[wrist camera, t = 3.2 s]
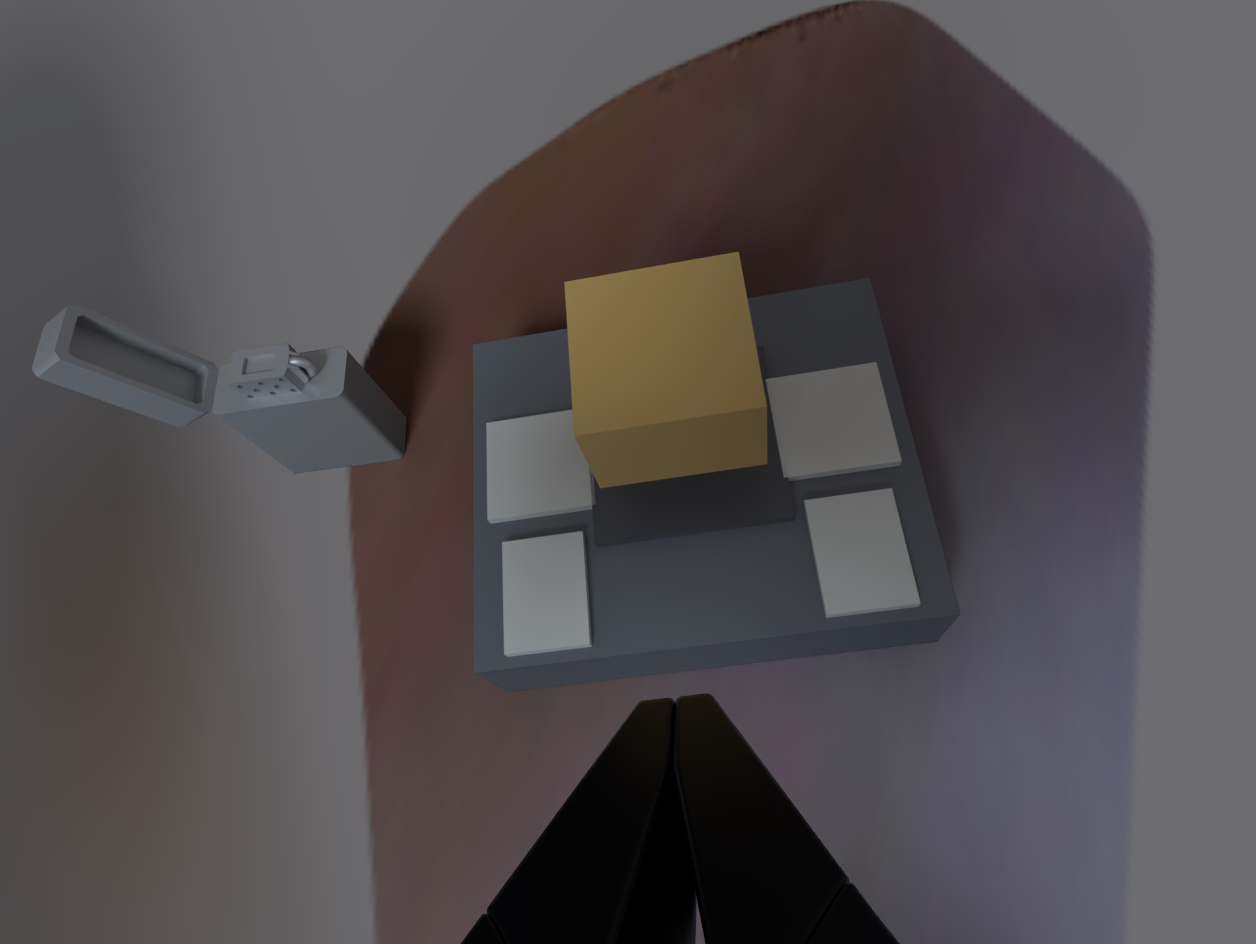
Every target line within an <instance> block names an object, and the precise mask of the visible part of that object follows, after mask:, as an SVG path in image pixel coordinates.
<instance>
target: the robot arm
mask: <svg viewBox="0 0 1256 944" xmlns="http://www.w3.org/2000/svg"><path fill="white" fill-rule="evenodd" d="M696 897H697V902H698V907H699V913H700V918H701V923H702V928H703V933H704V939H705V944H900V943H899V942H898V941H897V940H896V938H895V937H894V936H893V935H892V933H891V932H890V931H889V930H888V928H887V927H886V926H885V925H884V923H883V922H882V921H881V920H880V919H879V917H878V916H877V915H876V914H875V912H874V911H873V910H872V908H871V907H870V906H869V904H868V903H867V902H866V900H865V899H864V898H863V896H862V895H861V893H860V892H859V891H858V889H857V888H856V887H855V886H854V885H853V884H852V883H850V881H849V878H848V877H847V875H846V874H845V873H844V871H843V870H842V869H841V867H840V866H839V865H838V863H837V862H836V861H835V859H834V858H833V857H832V855H831V854H830V853H829V851H828V850H827V848H826V847H825V846H824V844H823V843H822V842H821V840H820V839H819V838H818V836H817V835H816V834H815V832H814V831H813V830H812V828H811V827H810V826H809V824H808V823H807V822H806V820H805V819H804V818H803V816H802V815H801V814H800V812H799V811H798V810H797V808H796V807H795V806H794V804H793V803H792V802H791V800H790V799H789V798H788V796H787V795H786V793H785V792H784V791H783V789H782V788H781V787H780V785H779V784H778V783H777V781H776V780H775V779H774V777H773V776H772V775H771V773H770V772H769V771H768V769H767V768H766V767H765V765H764V764H763V763H762V761H761V760H760V759H759V757H758V756H757V755H756V753H755V752H754V751H753V749H752V748H751V747H750V745H749V744H748V743H747V741H746V740H745V738H744V737H743V736H742V734H741V733H740V732H739V730H738V729H737V728H736V726H735V725H734V724H733V722H732V721H731V720H730V718H729V717H728V716H727V714H726V713H725V712H724V710H723V709H722V708H721V706H720V705H719V704H718V702H717V701H716V700H715V698H714V697H713V696H712V695H710V694H698V695H689V696H681V697H679V698H678V699H677V700H676V703H675V701H674V700H673V699H671V698H663V699H654V700H645V701H641V702H639V703H638V704H637V705H636V706H635V708H634V709H633V710H632V712H631V713H630V714H629V716H628V717H627V719H626V720H625V721H624V723H623V724H622V725H621V727H620V728H619V729H618V731H617V732H616V734H615V735H614V736H613V738H612V739H611V740H610V742H609V743H608V744H607V746H606V747H605V749H604V750H603V751H602V753H601V754H600V755H599V757H598V758H597V759H596V761H595V762H594V763H593V765H592V766H591V768H590V769H589V770H588V772H587V773H586V774H585V776H584V777H583V778H582V780H581V781H580V783H579V784H578V785H577V787H576V788H575V789H574V791H573V792H572V793H571V795H570V796H569V797H568V799H567V800H566V802H565V803H564V804H563V806H562V807H561V808H560V810H559V811H558V812H557V814H556V815H555V817H554V818H553V819H552V821H551V822H550V823H549V825H548V826H547V827H546V829H545V830H544V832H543V833H542V834H541V836H540V837H539V838H538V840H537V841H536V842H535V844H534V845H533V846H532V848H531V849H530V851H529V852H528V853H527V855H526V856H525V857H524V859H523V860H522V861H521V863H520V864H519V866H518V867H517V868H516V870H515V871H514V872H513V874H512V875H511V876H510V878H509V879H508V880H507V882H506V883H505V885H504V886H503V887H502V889H501V890H500V891H499V893H498V894H497V895H496V897H495V898H494V900H493V901H492V902H491V904H490V905H489V906H488V908H487V914H483V915H481V917H480V918H479V919H478V921H477V922H476V924H475V925H474V926H473V928H472V929H471V930H470V932H469V933H468V934H467V936H466V937H465V938H464V940H463V941H462V943H461V944H695V937H696V904H697V903H696Z"/></svg>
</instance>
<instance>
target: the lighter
mask: <svg viewBox="0 0 1256 944" xmlns="http://www.w3.org/2000/svg"><path fill="white" fill-rule="evenodd" d="M32 370H33V372H34V373H35V375H36V376H37V377H38V378H41V379H44V380H46V381H49V382H52V383H55V384H58V385H61V386H64V387H66V388H70V389H72V390H75V391H78V392H81V393H83V394H86V395H89V396H92V397H95V398H98V399H101V400H104V401H106V402H109V403H112V404H115V405H118V406H120V407H123V408H126V409H129V410H132V411H135V412H137V413H140V414H143V415H146V416H149V417H152V418H155V419H158V420H160V421H163V422H166V423H169V424H172V425H174V426H177V427H180V428H181V427H184V426H186V425H188V424H190V423H191V422H193V421H195V420H196V419H198V418H200V417H201V416H203V415H205V414H207V413H208V412H210V411H213V413H214V414H215V415H217V416H218V417H219V418H221V419H222V420H223V421H225V422H226V423H227V424H229V425H230V426H231V427H233V428H234V429H235V430H237V431H238V432H239V433H241V434H242V435H243V436H245V437H246V438H247V439H249V440H250V441H252V442H253V443H254V444H255V445H257V446H258V447H259V448H261V449H262V450H263V451H265V452H266V453H267V454H269V455H270V456H272V457H273V458H274V459H275V460H277V461H278V462H279V463H281V464H282V465H283V466H285V467H286V468H287V469H289V470H290V471H292V472H293V473H294V474H296V473H304V472H311V471H318V470H326V469H333V468H340V467H347V466H355V465H362V464H369V463H377V462H384V461H391V460H399V459H400V458H401V457H402V456H403V455H404V454H405V441H406V423H407V418H406V417H405V415H404V414H403V413H402V412H401V411H400V410H399V409H398V408H397V406H396V405H395V404H394V403H393V402H392V401H391V400H390V398H389V397H388V396H387V395H386V394H385V393H384V392H383V391H382V389H381V388H380V387H379V386H378V385H377V384H376V383H375V381H374V380H373V379H372V378H371V377H370V376H369V375H368V374H367V372H366V371H365V370H364V369H363V368H362V367H361V366H360V364H359V363H358V362H357V361H356V360H355V359H354V358H353V356H352V355H351V354H350V353H349V352H348V351H347V350H346V349H345V348H343V347H335V348H329V349H323V350H316V351H310V352H304V353H297V352H296V351H295V350H294V349H293V348H292V347H291V346H290V345H289V344H281V345H275V346H269V347H262V348H257V349H250V350H244V351H237V352H235V353H233V355H232V358H231V363H230V364H227V365H224V366H223V367H222V368H221V369H219V370H218V368H217V367H216V365H215V364H214V363H213V362H210V361H208V360H206V359H203V358H201V357H199V356H196V355H194V354H191V353H189V352H187V351H185V350H182V349H180V348H177V347H175V346H173V345H170V344H168V343H166V342H163V341H161V340H159V339H156V338H154V337H152V336H149V335H147V334H144V333H142V332H140V331H137V330H135V329H133V328H131V327H128V326H126V325H123V324H121V323H119V322H117V321H114V320H112V319H110V318H107V317H105V316H103V315H100V314H98V313H95V312H93V311H91V310H88V309H86V308H84V307H81V306H79V305H77V304H74V305H70V306H67V307H66V308H64V309H63V310H62V311H61V312H60V313H59V314H58V315H56V316H55V317H54V318H53V319H52V320H50V321H49V322H48V323H47V324H46V325H45V326H44V329H43V332H42V336H41V339H40V342H39V346H38V349H37V353H36V356H35V359H34V363H33V366H32Z"/></svg>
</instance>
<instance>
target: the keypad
mask: <svg viewBox="0 0 1256 944" xmlns="http://www.w3.org/2000/svg"><path fill="white" fill-rule="evenodd" d="M747 300H748V305H749V311H750V316H751V321H752V327H753V332H754V338H755V343H756V349H757V354H758V360H759V365H760V371H761V376H762V382H763V387H764V392H765V398H766V403H767V464H765V465H758V466H751V467H744V468H737V469H730V470H723V471H716V472H710V473H703V474H696V475H689V476H682V477H675V478H668V479H661V480H654V481H647V482H640V483H634V484H627V485H620V486H613V487H606V488H600V487H599V485H598V483H597V481H596V479H595V477H594V475H593V473H592V471H591V469H590V467H589V465H588V463H587V461H586V459H585V457H584V455H583V453H582V451H581V449H580V447H579V445H578V443H577V441H576V439H575V437H574V426H573V410H572V394H571V378H570V362H569V346H568V330H567V329H562V330H556V331H550V332H544V333H538V334H532V335H526V336H520V337H514V338H509V339H503V340H497V341H491V342H485V343H479V344H473V620H474V673H475V674H477V675H478V676H480V677H482V678H484V679H486V680H488V681H490V682H492V683H494V684H495V685H497V686H499V687H501V688H503V689H505V690H507V691H517V690H526V689H534V688H543V687H551V686H560V685H568V684H577V683H586V682H594V681H603V680H611V679H620V678H628V677H637V676H645V675H654V674H662V673H671V672H679V671H688V670H697V669H705V668H714V667H722V666H731V665H739V664H748V663H756V662H765V661H773V660H782V659H790V658H799V657H808V656H816V655H825V654H833V653H842V652H850V651H859V650H867V649H876V648H884V647H893V646H902V645H910V644H919V643H927V642H936V641H937V640H938V639H939V638H940V637H941V636H942V634H943V633H944V632H945V631H946V630H947V629H948V628H949V627H950V625H951V624H952V623H953V622H954V621H955V620H956V619H957V618H958V616H959V615H960V611H959V607H958V604H957V600H956V596H955V592H954V589H953V585H952V581H951V578H950V574H949V570H948V566H947V563H946V559H945V555H944V551H943V548H942V544H941V540H940V536H939V533H938V529H937V525H936V522H935V518H934V514H933V510H932V507H931V503H930V499H929V495H928V492H927V488H926V484H925V480H924V477H923V473H922V469H921V466H920V462H919V458H918V454H917V451H916V447H915V443H914V439H913V436H912V432H911V428H910V424H909V421H908V417H907V413H906V410H905V406H904V402H903V398H902V395H901V391H900V387H899V383H898V380H897V376H896V372H895V368H894V365H893V361H892V357H891V354H890V350H889V346H888V342H887V339H886V335H885V331H884V327H883V324H882V320H881V316H880V312H879V309H878V305H877V301H876V298H875V294H874V290H873V286H872V283H871V279H870V278H865V279H859V280H853V281H847V282H841V283H835V284H829V285H823V286H818V287H812V288H806V289H800V290H794V291H788V292H782V293H776V294H770V295H764V296H758V297H752V298H747Z"/></svg>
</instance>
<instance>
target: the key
mask: <svg viewBox="0 0 1256 944" xmlns="http://www.w3.org/2000/svg"><path fill="white" fill-rule="evenodd" d="M565 298H566V314H567V330H568V346H569V362H570V378H571V394H572V410H573V426H574V437H575V439H576V441H577V443H578V445H579V447H580V449H581V451H582V453H583V455H584V457H585V459H586V461H587V463H588V465H589V467H590V469H591V471H592V473H593V475H594V477H595V479H596V481H597V483H598V485H599V487H600V488H606V487H613V486H620V485H627V484H634V483H640V482H647V481H654V480H661V479H668V478H675V477H682V476H689V475H696V474H703V473H710V472H716V471H723V470H730V469H737V468H744V467H751V466H758V465H765V464H767V403H766V398H765V392H764V387H763V382H762V376H761V371H760V365H759V360H758V354H757V349H756V343H755V338H754V332H753V327H752V321H751V316H750V311H749V305H748V300H747V294H746V289H745V283H744V278H743V272H742V267H741V261H740V256H739V252H733V253H728V254H722V255H716V256H710V257H705V258H699V259H693V260H688V261H682V262H676V263H670V264H665V265H659V266H653V267H648V268H642V269H636V270H630V271H625V272H619V273H613V274H608V275H602V276H596V277H590V278H585V279H579V280H573V281H568V282H565Z"/></svg>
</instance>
